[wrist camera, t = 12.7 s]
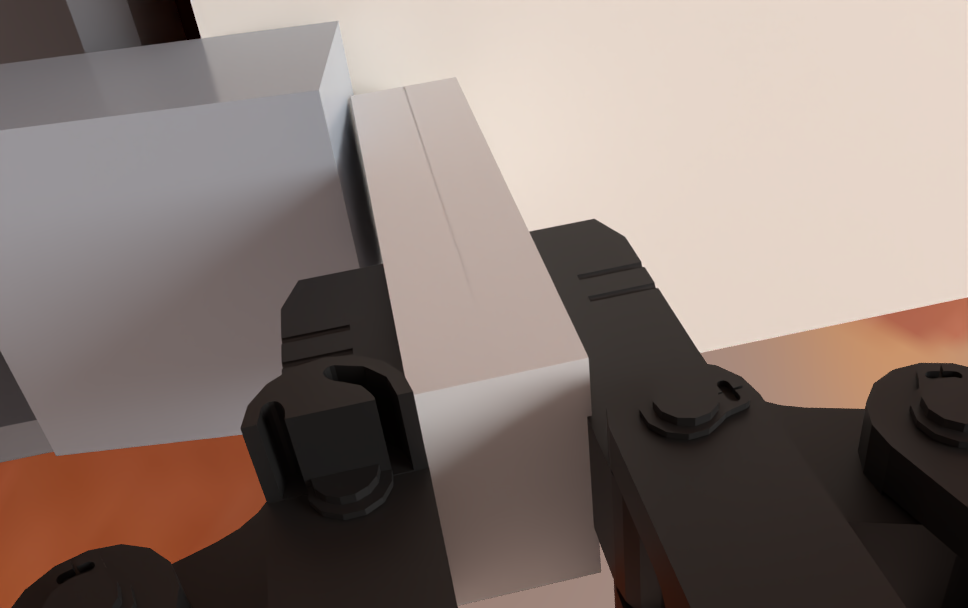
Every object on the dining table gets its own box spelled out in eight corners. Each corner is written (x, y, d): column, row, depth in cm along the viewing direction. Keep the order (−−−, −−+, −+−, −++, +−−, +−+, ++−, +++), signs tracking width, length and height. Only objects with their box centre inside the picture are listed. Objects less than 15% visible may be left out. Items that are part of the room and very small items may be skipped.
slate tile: (-21, 67, 13) (-110, 144, 10) (338, 21, 12) (319, 89, 10) (106, 351, 15) (56, 456, 13) (399, 316, 15) (393, 417, 13)
